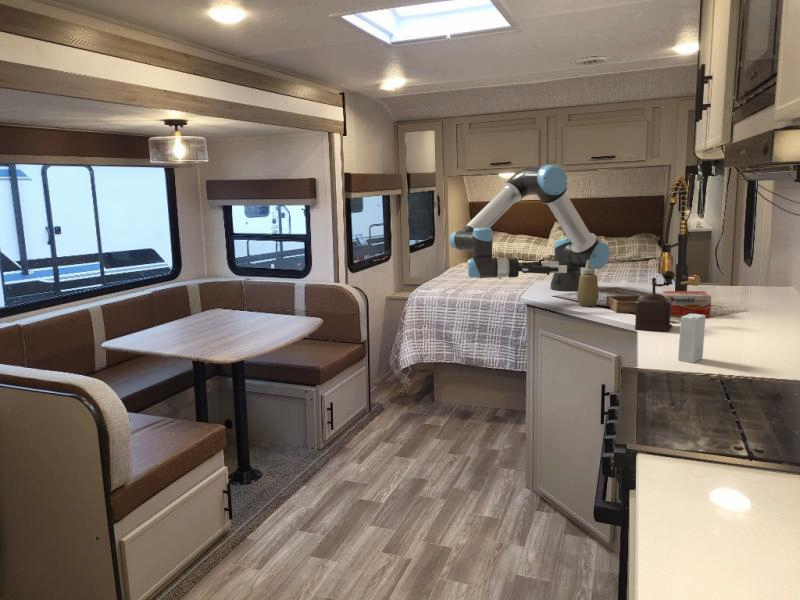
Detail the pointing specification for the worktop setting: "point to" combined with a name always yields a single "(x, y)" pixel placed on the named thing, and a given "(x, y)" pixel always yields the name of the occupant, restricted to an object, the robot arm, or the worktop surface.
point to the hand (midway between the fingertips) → (562, 267)
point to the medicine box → (689, 302)
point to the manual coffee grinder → (655, 308)
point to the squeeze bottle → (588, 286)
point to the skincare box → (691, 338)
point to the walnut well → (622, 303)
